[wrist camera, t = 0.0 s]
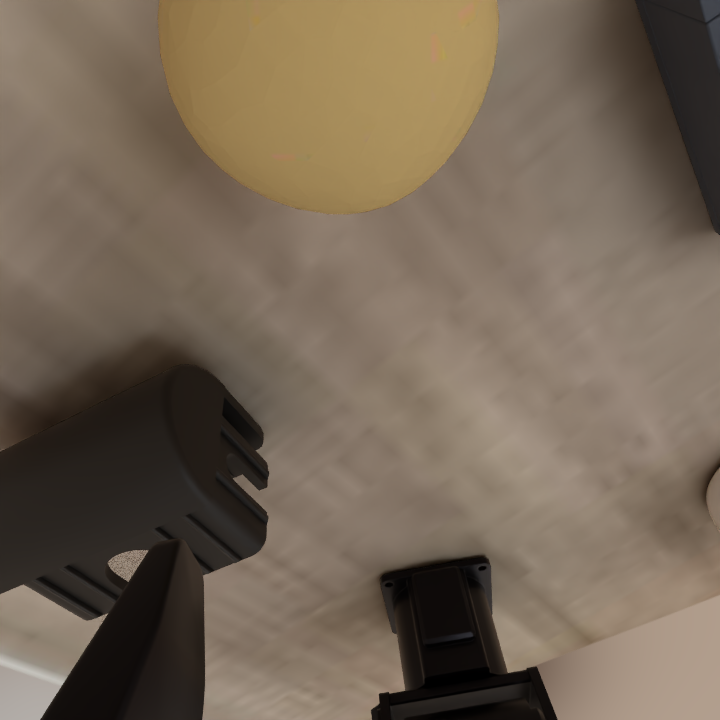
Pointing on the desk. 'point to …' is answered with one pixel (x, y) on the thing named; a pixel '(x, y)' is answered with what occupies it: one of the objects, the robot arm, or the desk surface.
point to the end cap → (131, 489)
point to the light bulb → (328, 91)
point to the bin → (691, 81)
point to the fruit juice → (714, 498)
